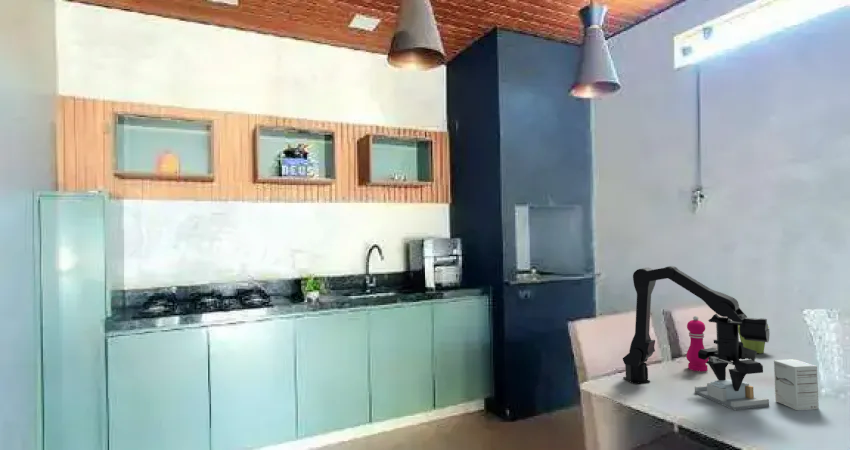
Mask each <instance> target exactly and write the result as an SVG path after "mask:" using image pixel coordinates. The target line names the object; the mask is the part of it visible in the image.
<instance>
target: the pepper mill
mask: <svg viewBox="0 0 850 450" xmlns="http://www.w3.org/2000/svg"><path fill="white" fill-rule="evenodd" d="M686 329H687V330H688V331H689V332H688V336H689V337H688V338H689V339H690V344H689V346H688V349H687V351H686V355H685V356H686V360H687V361H688V363H687V366H688V369H689V370H691V371H692V372H693V371H694V372H707V371H708V365H707V361H708V358H707V359H706V360H703V359H700V358H698V352H699V350H700V349H706V348H705V346H704V338H705V334H704V332H705V331H706V324H705V323H704V322H703V321H702V320H699V317H698V316H697V315H693V317H692V320H689V321H688V322H687V324H686Z"/></svg>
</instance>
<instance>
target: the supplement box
mask: <svg viewBox="0 0 850 450" xmlns="http://www.w3.org/2000/svg"><path fill="white" fill-rule="evenodd" d="M773 368H774V391H775V392H774V396H775V399H774V400H775V402H777V403H778V404H782V405H783V406H786V407H789V408H791V409H793V410H795V411H806V410H807V411H810V410H811V411H812V410H820V409H819V407H820V406H819V383H818V379H819V378H818V366H817V365H816V364H815V365H814V364H811V363H807V362H805V361H802V360H798V359H795V358H791V359H789V358H787V359H776V360H774V361H773Z"/></svg>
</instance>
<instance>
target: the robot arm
mask: <svg viewBox="0 0 850 450" xmlns="http://www.w3.org/2000/svg"><path fill="white" fill-rule="evenodd" d="M665 279H666V280H667V279H669V280H670V281H672V282H674V283H675V284H677V285H679V287H681V288H683V289H685V290H686V291H688V292H689V293H691V294H693V296H696V297H698V298H699V299H701V300H702V301H703V302H704V303H705V304H706V305H707V306H708V308H710V309H711V310H712V311H713V312H714V313H715V314H713V315H712V317H711V318H709V319H708V320H707V321H708V322H709V323H715V328H716V339H713V344H715V345H716V347H717V349H715V348H705V349H700V350H699V352H698V358H700V359H703V360H706V359H707V358H708V361H707V363H706V365H707V364H708V365H709V367H710V369H711V370H712V372H713V373H714V375H715V377H716V379H717V381H719V380H727V379H726V377H727V376H726V374H727V369H726V368H727V367H728V365H732V366H733V368H729V369H728V373H729V376H730V379H731V380H732V384H733V388H734V390H735V391H739V389H740V386H741V384H742V381H743V380H744V379H745V377H746V375H750V374H751V375H752V374H762V373H764V366H763V364H762V363H761V362H760V361H756V357H757V354H758V353H757V351H754V350H751V349H748V348H745V347H743V343H742V342H741V340H740V336H739V331H738V325H740V335H741V336H742V337H744V339H745V340H751V341H760V342H765V343H769V341H770V328H768V326H769V324H768V319H767V318H764V317H763V318H754V317H748V316H747V315H746V313H745V312H744V311H743V310H742V309H741V308H740V305H739V304H740V303H739V301H738V300H737V299H736V298H735V297H733V296H730V295H728V294H725V293H723V292H720V291H718V290H717V291H716V290H714V289H712V288H710V287H708V286H706V285H705V284H703V283H702V282H700V281H699V280H696V279H695V278H694V277H692V276H690V275H688V274H686V273H685V272H683V271H682V270H681V269H679V268H678V267H676V266H674V265H669V266H665V267H661V268H655V269H652V268H650V267H643V268H639V269H636V270H635V271H633V273H632V280H633V287H634V289H635V292H636V303H635V304H636V308H635V331H634V336H633V337H632V340H631V343H630V347H629V351H628V353H627V354H625V356H624V357H622V360H623V363H624V365H625V366H624V369H625V376H623V377H622V379H624V380H626V381H627V382H630V383H631V384H635V385H637V384H646V383H651V380H650V379H649V369H648V367H647V363H646V362H647V361H648V359H650V358H651V357H652V355H653V353H654V352H656V349H655V344H656V340H655V339H652V338H651V336H650V328H651V327H650V325H651V307H652V306H651V304H652V293H653V291H654V288H655V285H656V282H657V281H659V280H665ZM743 382H744V381H743Z"/></svg>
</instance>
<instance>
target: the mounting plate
mask: <svg viewBox="0 0 850 450" xmlns="http://www.w3.org/2000/svg"><path fill="white" fill-rule="evenodd" d="M694 393H695V394H697V395H698V396H701V397H704V398H706V399H709V400H711V401H713V402H715V403H717V404H719V403H720V405H722V406H724V407H727V408H728V409H731V410H733V411H737V410H744V409H756V408H763V407H764V408H767V407H770V399H769V398H767V397H764V398H756V397H754V386H752V385H750V384H749V386H745V397H746V398H738V399H729V400H727V399H726V389H724V388H719V387H716V386H714V385H711V383H706V385H697V386H694Z"/></svg>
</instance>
